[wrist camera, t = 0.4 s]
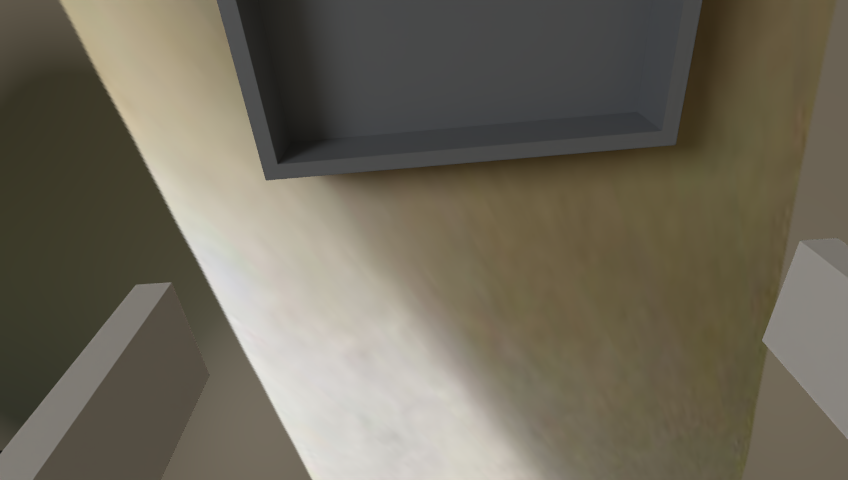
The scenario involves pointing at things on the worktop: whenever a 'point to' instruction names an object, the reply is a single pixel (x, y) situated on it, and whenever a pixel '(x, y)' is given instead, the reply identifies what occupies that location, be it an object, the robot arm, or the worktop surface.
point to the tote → (456, 79)
